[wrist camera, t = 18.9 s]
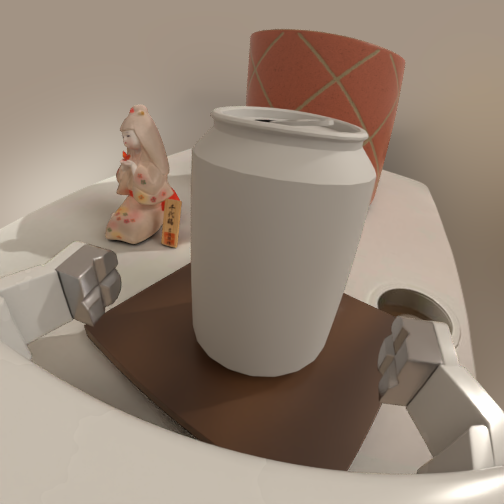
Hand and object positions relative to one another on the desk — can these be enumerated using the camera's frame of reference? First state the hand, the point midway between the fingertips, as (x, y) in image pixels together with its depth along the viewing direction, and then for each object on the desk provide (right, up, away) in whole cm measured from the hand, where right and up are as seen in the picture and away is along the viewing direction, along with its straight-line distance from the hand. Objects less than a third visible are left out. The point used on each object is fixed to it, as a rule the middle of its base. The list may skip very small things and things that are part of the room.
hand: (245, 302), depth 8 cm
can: (+1, -4, +9) cm, 10 cm away
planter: (+8, +9, +33) cm, 35 cm away
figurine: (-10, +3, +20) cm, 23 cm away
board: (+1, -4, +10) cm, 11 cm away
